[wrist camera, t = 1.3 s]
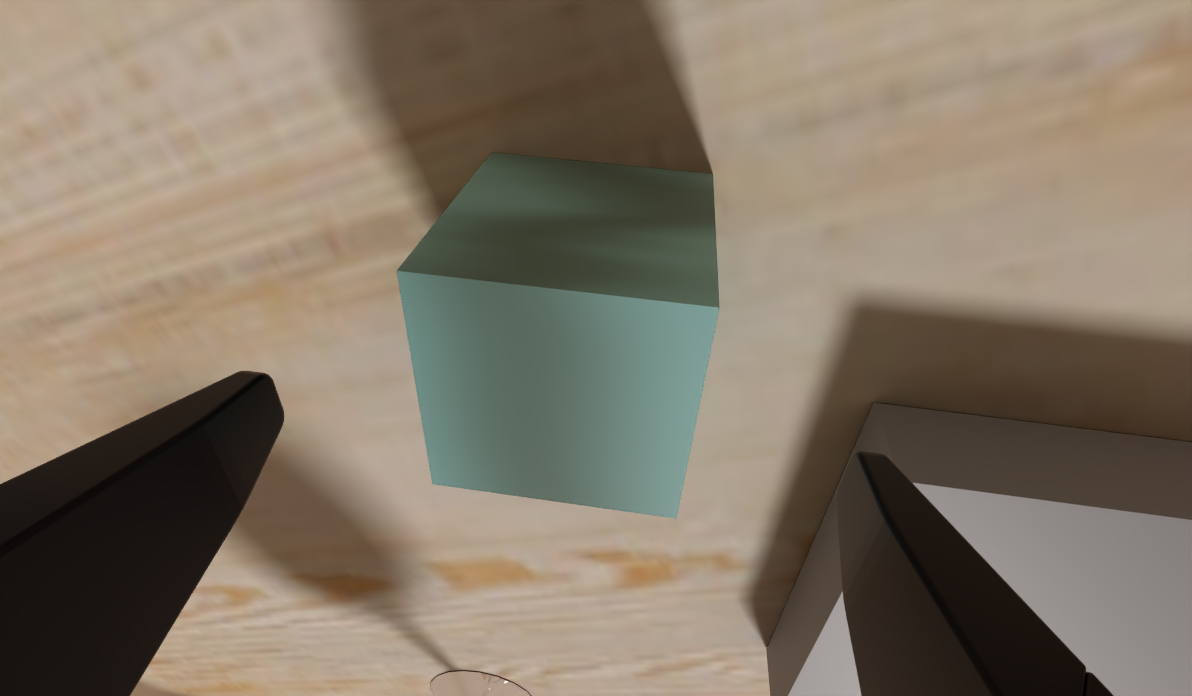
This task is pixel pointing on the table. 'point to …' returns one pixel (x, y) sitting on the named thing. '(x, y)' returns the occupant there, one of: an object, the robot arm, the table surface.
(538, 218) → the teal block
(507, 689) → the wineglass
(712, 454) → the table surface
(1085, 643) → the plinth
